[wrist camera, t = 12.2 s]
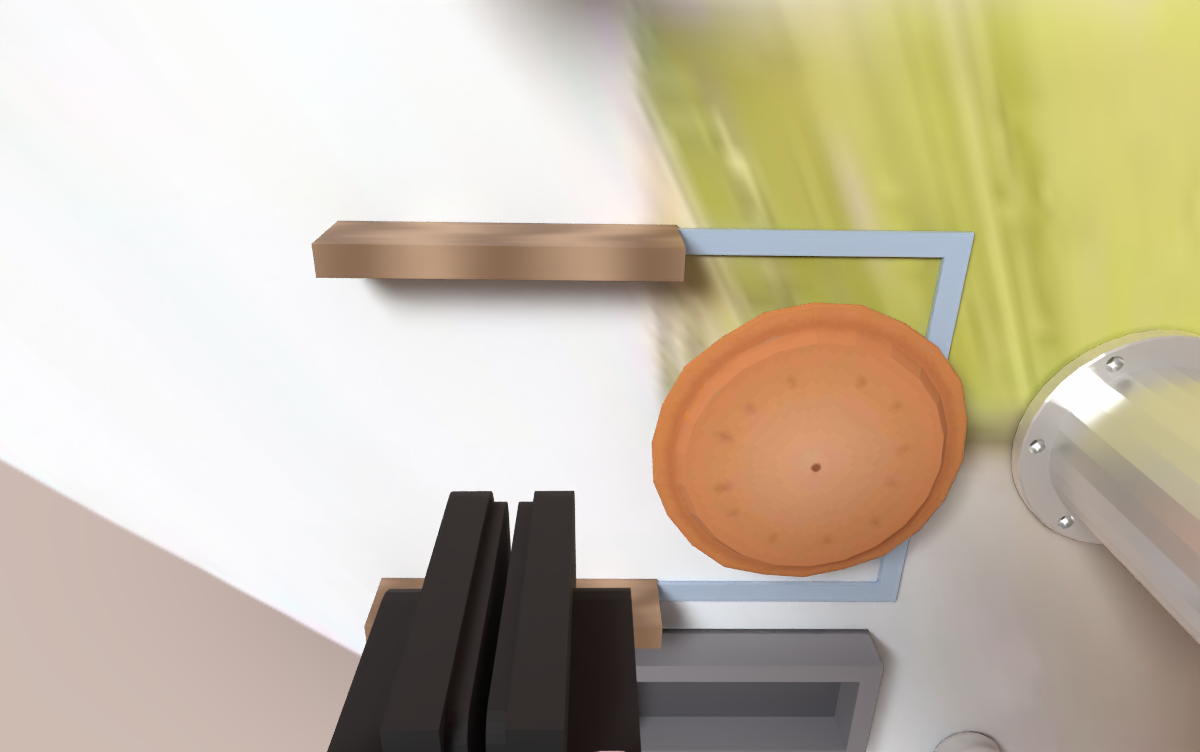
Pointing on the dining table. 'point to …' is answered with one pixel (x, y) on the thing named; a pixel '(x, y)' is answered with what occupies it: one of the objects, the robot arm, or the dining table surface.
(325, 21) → the dining table surface
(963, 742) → the rook chess piece
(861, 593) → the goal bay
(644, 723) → the grey tray
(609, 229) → the channel walls
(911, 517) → the pie
